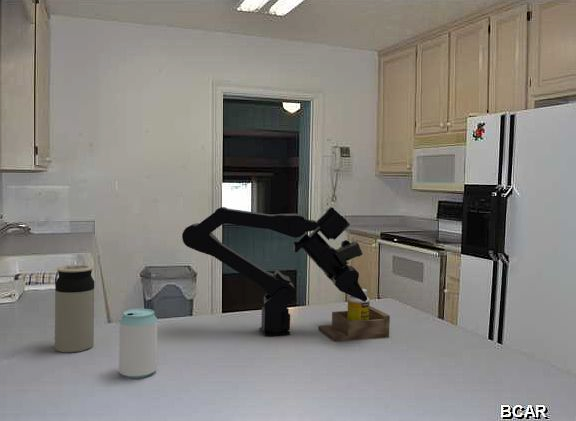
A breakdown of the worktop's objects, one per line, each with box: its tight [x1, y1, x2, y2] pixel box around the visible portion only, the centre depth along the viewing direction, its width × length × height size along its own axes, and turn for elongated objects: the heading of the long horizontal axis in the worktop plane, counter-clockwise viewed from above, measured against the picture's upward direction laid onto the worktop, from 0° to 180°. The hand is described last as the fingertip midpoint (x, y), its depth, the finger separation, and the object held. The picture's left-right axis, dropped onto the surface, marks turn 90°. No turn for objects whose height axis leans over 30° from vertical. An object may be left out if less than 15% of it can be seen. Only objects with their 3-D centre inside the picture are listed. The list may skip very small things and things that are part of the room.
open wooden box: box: [317, 305, 391, 342], centre depth 128 cm, size 15×10×6 cm
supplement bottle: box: [347, 288, 371, 321], centre depth 128 cm, size 6×6×10 cm
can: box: [118, 308, 159, 379], centre depth 97 cm, size 7×7×12 cm
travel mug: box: [54, 264, 95, 354], centre depth 110 cm, size 8×8×18 cm
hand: (361, 296), depth 128 cm, fingers open, 9 cm apart
